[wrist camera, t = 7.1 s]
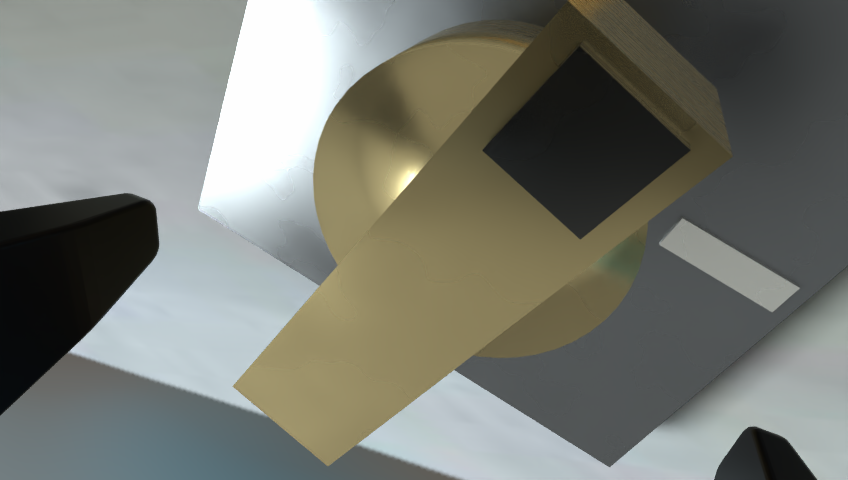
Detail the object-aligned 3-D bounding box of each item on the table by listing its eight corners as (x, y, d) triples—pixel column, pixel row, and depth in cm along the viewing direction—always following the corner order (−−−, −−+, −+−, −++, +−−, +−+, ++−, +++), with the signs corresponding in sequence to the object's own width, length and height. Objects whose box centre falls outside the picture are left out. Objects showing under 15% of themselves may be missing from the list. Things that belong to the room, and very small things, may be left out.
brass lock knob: (476, 362, 16) (401, 540, 11) (294, 203, 15) (143, 323, 11) (787, 128, 11) (869, 290, 6) (526, -121, 10) (415, -137, 6)
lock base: (233, 186, 22) (155, 236, 18) (397, -401, 12) (299, -508, 9) (614, 422, 21) (603, 520, 17) (1097, -19, 11) (1265, 13, 8)
